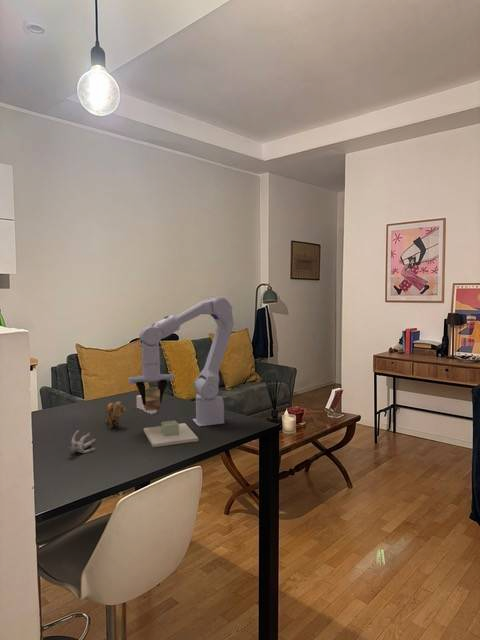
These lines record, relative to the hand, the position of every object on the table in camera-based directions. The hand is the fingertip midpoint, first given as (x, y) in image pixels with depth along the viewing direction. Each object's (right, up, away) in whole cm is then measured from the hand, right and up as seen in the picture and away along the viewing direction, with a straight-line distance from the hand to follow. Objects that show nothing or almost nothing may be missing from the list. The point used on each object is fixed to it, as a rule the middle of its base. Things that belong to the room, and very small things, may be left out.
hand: (151, 403), depth 152 cm
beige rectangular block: (-7, -8, +23) cm, 25 cm away
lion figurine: (-14, -9, +7) cm, 18 cm away
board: (+7, -9, -6) cm, 13 cm away
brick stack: (0, -2, 0) cm, 2 cm away
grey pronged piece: (-17, -11, -17) cm, 27 cm away
